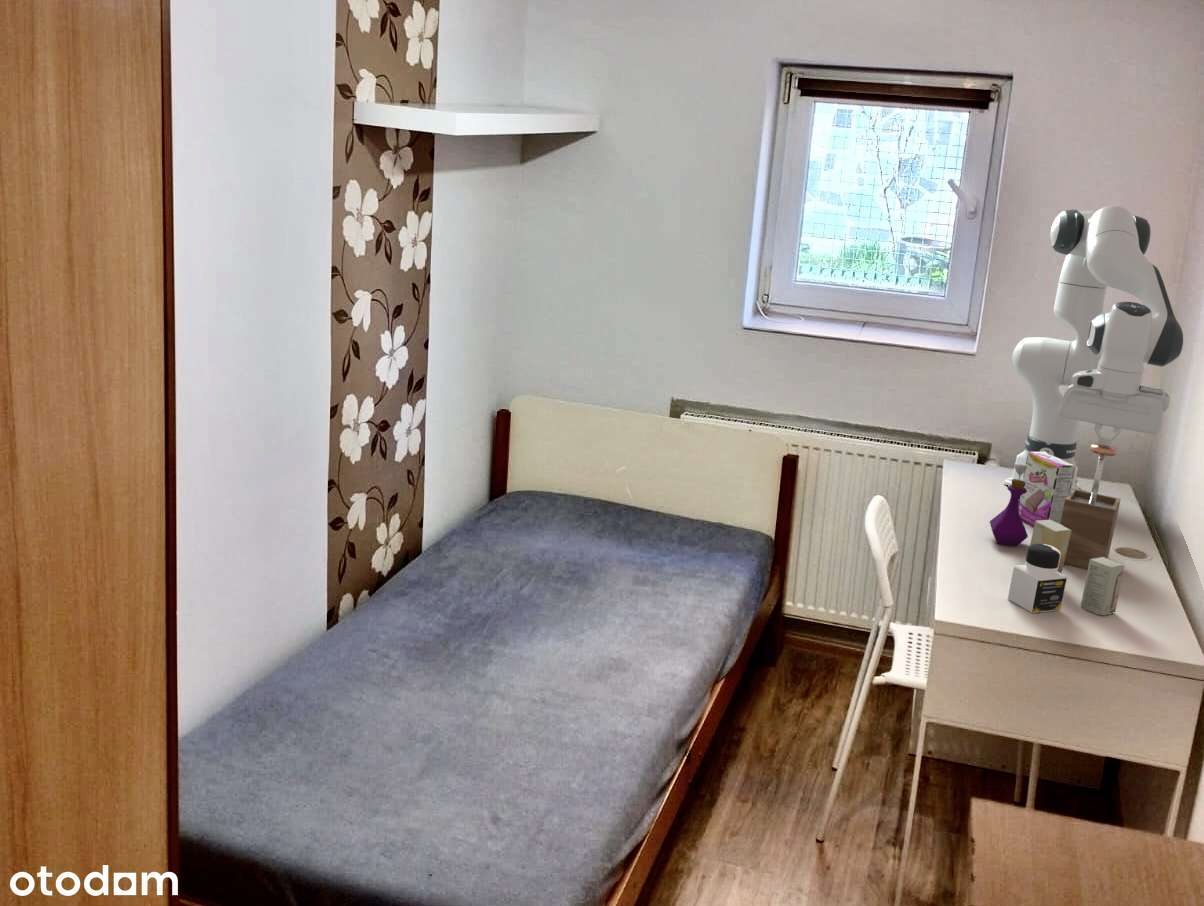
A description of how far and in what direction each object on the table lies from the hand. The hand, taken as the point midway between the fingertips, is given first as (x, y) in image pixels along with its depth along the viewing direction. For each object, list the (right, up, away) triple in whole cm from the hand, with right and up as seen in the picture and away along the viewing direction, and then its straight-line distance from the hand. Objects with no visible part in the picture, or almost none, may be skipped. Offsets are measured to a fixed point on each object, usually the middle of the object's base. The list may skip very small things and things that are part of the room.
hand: (1104, 446), depth 263 cm
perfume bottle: (-16, -21, +15) cm, 30 cm away
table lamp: (-1, -13, +4) cm, 13 cm away
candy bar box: (-4, -18, +29) cm, 34 cm away
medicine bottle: (-22, -31, -20) cm, 43 cm away
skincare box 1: (-16, -28, -7) cm, 33 cm away
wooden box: (-2, -25, +7) cm, 26 cm away
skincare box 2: (-9, -32, -20) cm, 39 cm away
